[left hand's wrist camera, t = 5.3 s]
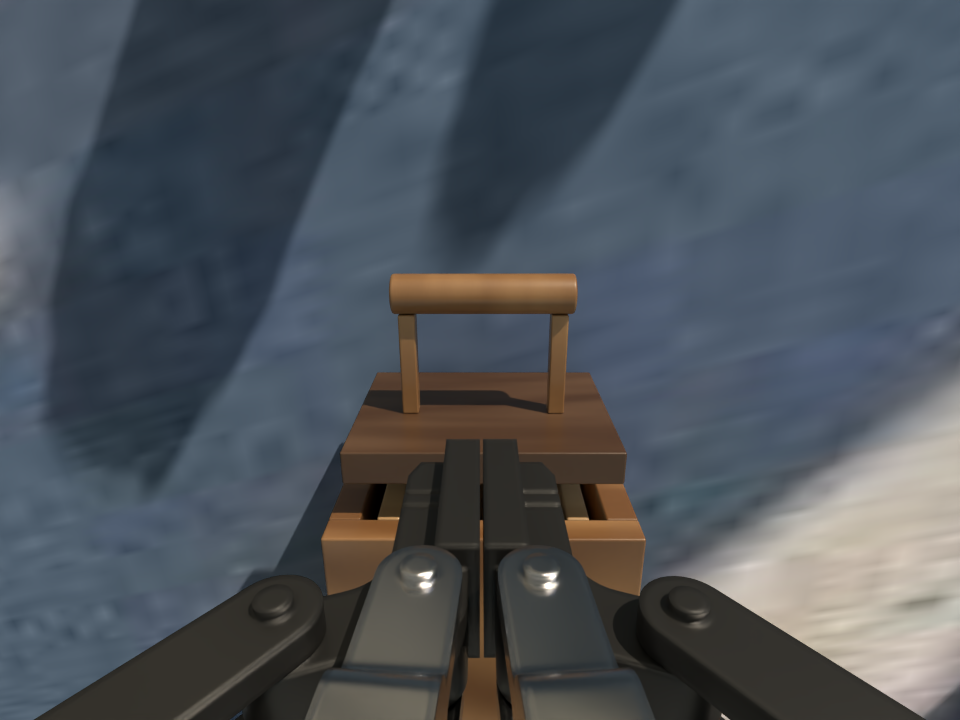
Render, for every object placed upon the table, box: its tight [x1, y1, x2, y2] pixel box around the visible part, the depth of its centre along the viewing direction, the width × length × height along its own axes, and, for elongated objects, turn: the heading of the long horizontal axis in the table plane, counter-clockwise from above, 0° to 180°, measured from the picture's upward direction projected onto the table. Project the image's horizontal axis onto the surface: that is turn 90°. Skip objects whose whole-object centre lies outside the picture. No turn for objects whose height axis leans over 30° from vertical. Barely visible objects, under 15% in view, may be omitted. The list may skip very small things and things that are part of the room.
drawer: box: [340, 274, 627, 520], centre depth 25 cm, size 26×9×7 cm, turn 0°
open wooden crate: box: [321, 484, 646, 720], centre depth 27 cm, size 22×11×9 cm, turn 0°
